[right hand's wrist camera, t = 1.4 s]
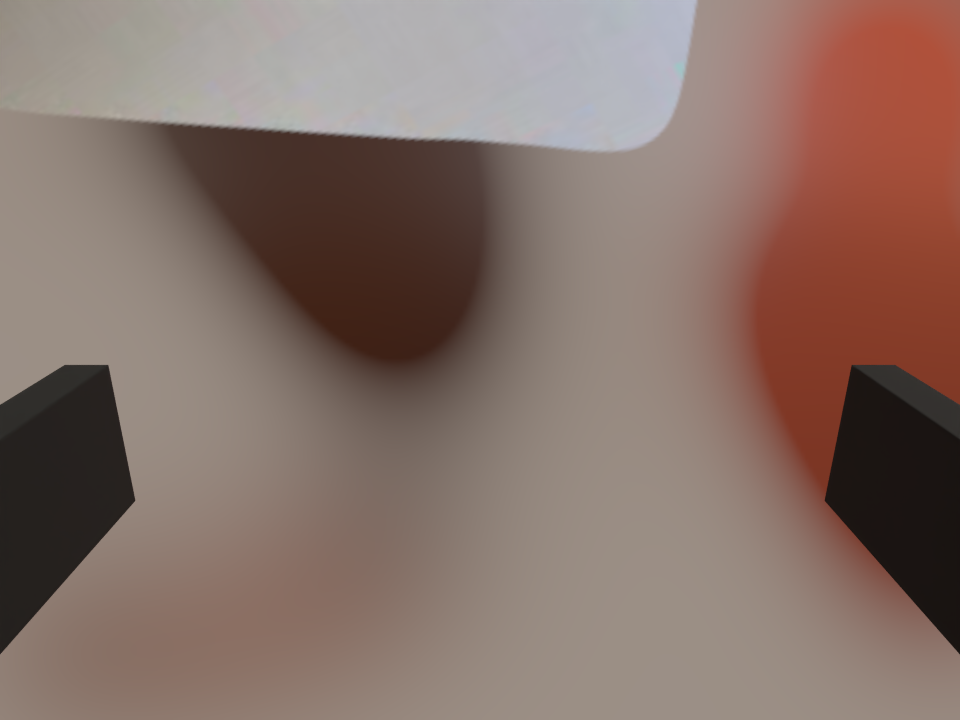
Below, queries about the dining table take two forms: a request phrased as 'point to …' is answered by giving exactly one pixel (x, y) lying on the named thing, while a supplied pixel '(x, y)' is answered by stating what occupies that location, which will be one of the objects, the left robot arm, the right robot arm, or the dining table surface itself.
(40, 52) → the dining table surface
